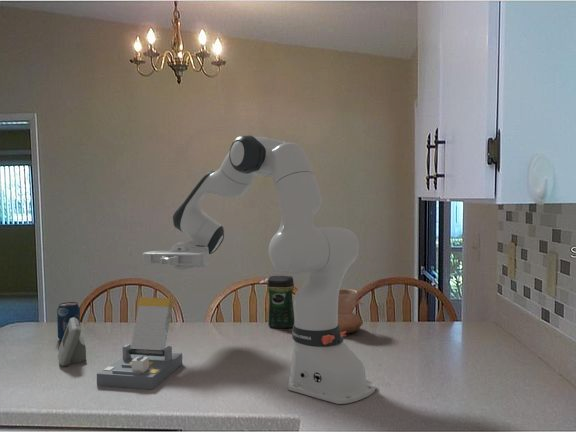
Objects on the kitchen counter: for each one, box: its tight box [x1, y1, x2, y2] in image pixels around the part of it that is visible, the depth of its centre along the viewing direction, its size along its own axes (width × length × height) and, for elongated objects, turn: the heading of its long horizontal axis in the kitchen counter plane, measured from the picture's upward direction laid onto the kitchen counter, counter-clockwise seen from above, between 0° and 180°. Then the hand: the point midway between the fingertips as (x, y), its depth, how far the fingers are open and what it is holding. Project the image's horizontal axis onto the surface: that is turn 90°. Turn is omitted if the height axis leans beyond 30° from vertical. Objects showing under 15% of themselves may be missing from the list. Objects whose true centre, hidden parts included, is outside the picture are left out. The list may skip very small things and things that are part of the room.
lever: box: [129, 296, 175, 356], centre depth 130 cm, size 3×10×16 cm, turn 79°
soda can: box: [56, 301, 81, 342], centre depth 157 cm, size 7×7×12 cm
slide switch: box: [132, 355, 149, 373], centre depth 118 cm, size 3×3×4 cm
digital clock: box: [58, 317, 87, 367], centre depth 137 cm, size 16×9×11 cm, turn 16°
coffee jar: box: [266, 275, 295, 329], centre depth 170 cm, size 10×8×19 cm
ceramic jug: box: [338, 288, 365, 335], centre depth 163 cm, size 18×14×14 cm
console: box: [96, 343, 183, 390], centre depth 124 cm, size 18×15×6 cm
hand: (164, 261), depth 138 cm, fingers closed
